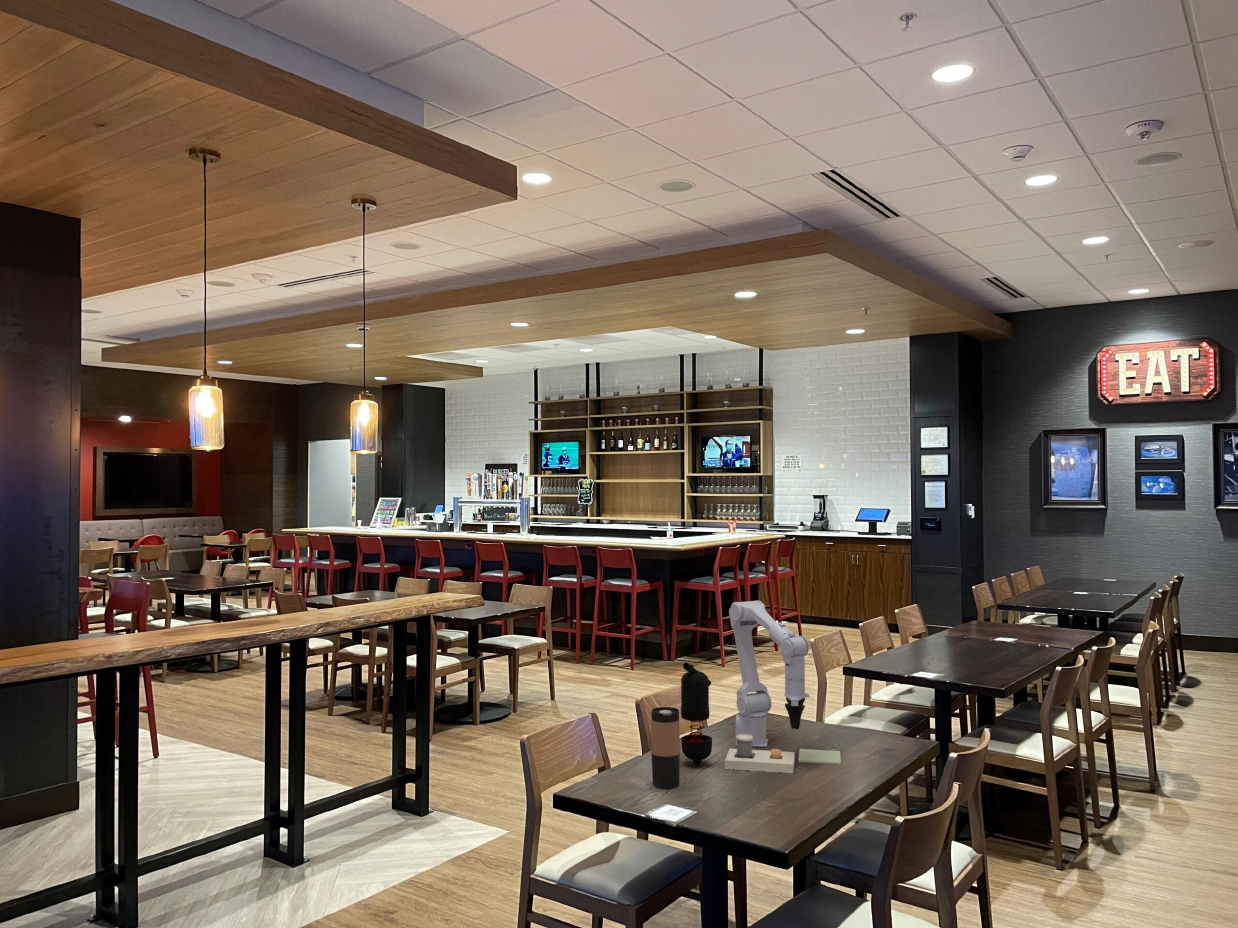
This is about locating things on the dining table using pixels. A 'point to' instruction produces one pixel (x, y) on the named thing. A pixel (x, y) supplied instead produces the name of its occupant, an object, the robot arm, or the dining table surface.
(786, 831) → the dining table surface
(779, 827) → the dining table surface
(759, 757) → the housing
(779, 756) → the plunger
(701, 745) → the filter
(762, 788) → the dining table surface
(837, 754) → the mat
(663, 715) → the travel mug
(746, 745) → the cylinder
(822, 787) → the dining table surface
